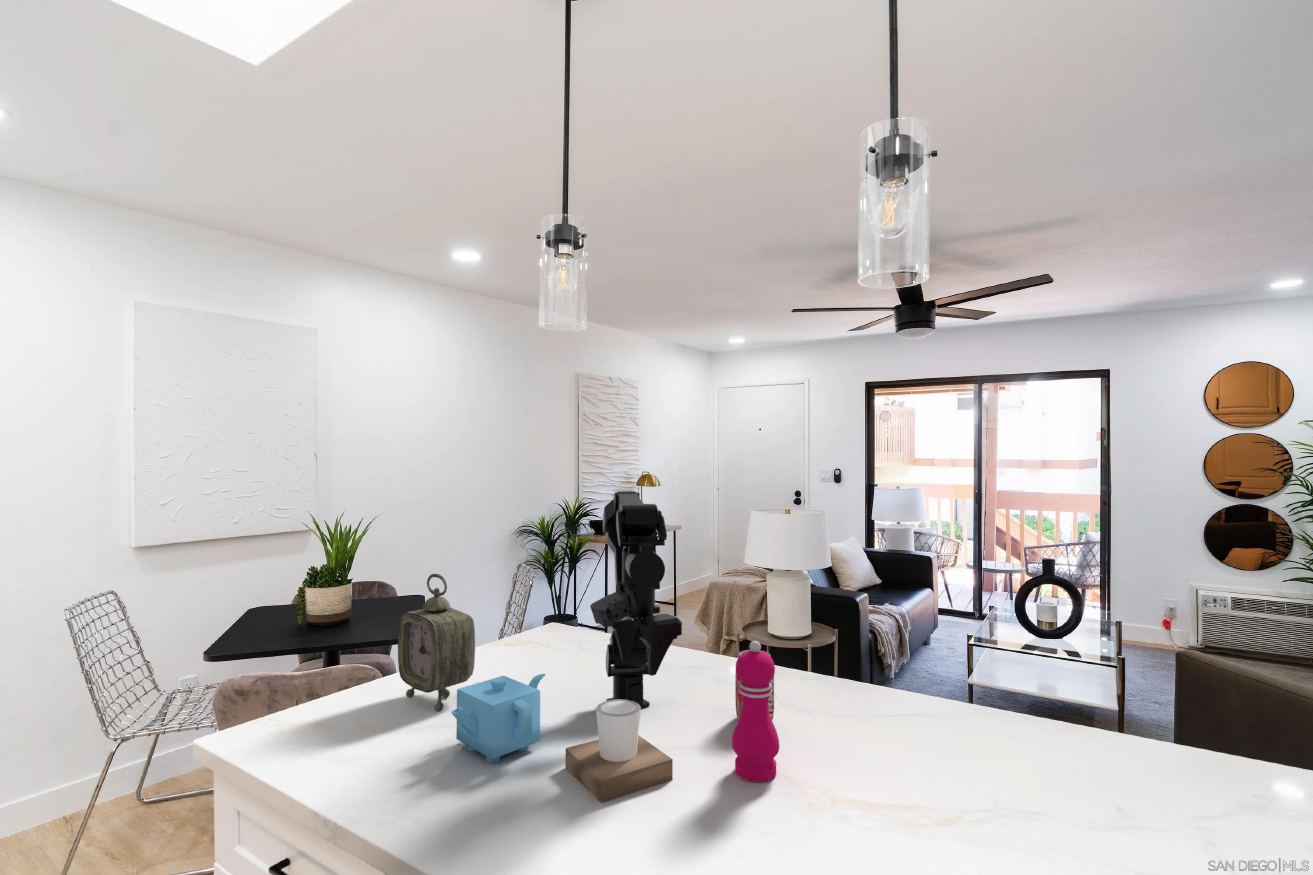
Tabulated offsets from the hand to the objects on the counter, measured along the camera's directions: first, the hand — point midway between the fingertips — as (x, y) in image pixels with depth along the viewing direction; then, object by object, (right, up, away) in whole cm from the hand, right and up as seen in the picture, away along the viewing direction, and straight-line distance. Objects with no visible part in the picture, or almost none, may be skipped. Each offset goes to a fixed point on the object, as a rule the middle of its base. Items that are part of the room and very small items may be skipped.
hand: (638, 667), depth 111 cm
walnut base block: (-3, -12, -13) cm, 17 cm away
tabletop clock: (-40, -13, +17) cm, 45 cm away
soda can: (+21, -13, +7) cm, 26 cm away
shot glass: (-3, -9, -13) cm, 16 cm away
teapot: (-23, -12, -4) cm, 26 cm away
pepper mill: (+18, -12, -12) cm, 25 cm away
